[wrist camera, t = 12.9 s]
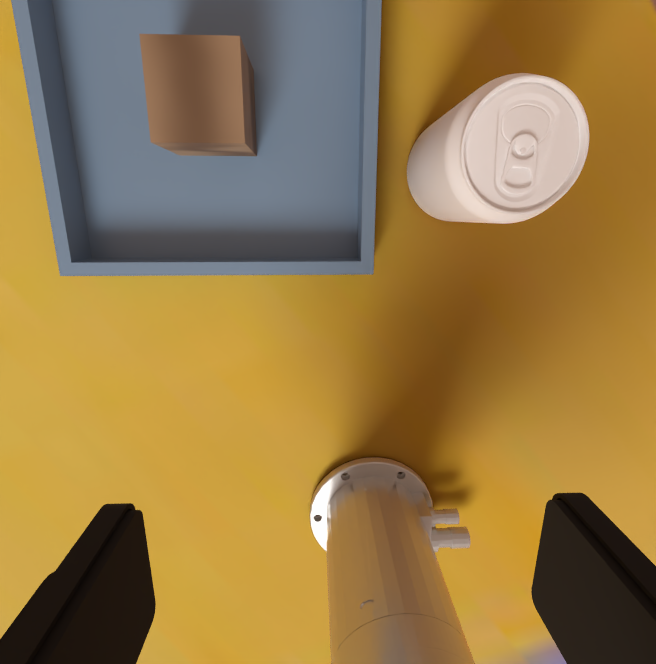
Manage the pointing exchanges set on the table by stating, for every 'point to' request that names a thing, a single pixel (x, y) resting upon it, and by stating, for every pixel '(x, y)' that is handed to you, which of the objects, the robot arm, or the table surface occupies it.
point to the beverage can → (501, 152)
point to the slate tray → (207, 171)
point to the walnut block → (199, 94)
